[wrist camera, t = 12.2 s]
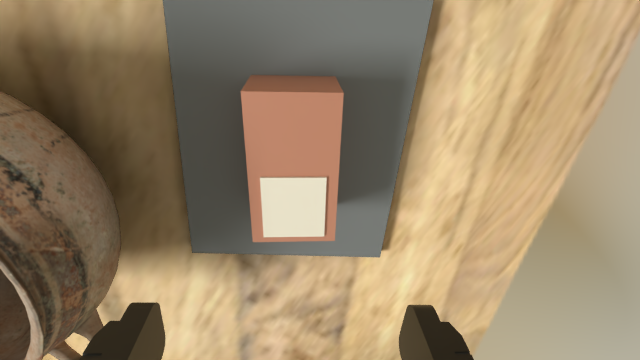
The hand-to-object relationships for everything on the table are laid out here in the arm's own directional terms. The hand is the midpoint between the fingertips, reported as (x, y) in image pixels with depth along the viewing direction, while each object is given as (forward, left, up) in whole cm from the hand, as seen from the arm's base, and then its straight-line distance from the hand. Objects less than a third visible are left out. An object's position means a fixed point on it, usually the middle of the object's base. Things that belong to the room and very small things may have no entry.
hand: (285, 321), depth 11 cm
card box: (0, 0, -15) cm, 15 cm away
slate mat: (0, 0, -16) cm, 16 cm away
